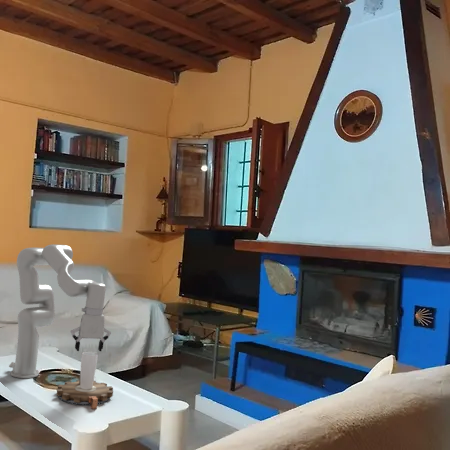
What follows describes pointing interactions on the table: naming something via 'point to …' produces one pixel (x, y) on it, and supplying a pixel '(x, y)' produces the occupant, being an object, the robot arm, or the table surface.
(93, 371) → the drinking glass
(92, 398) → the sprocket stand
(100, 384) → the sprocket
